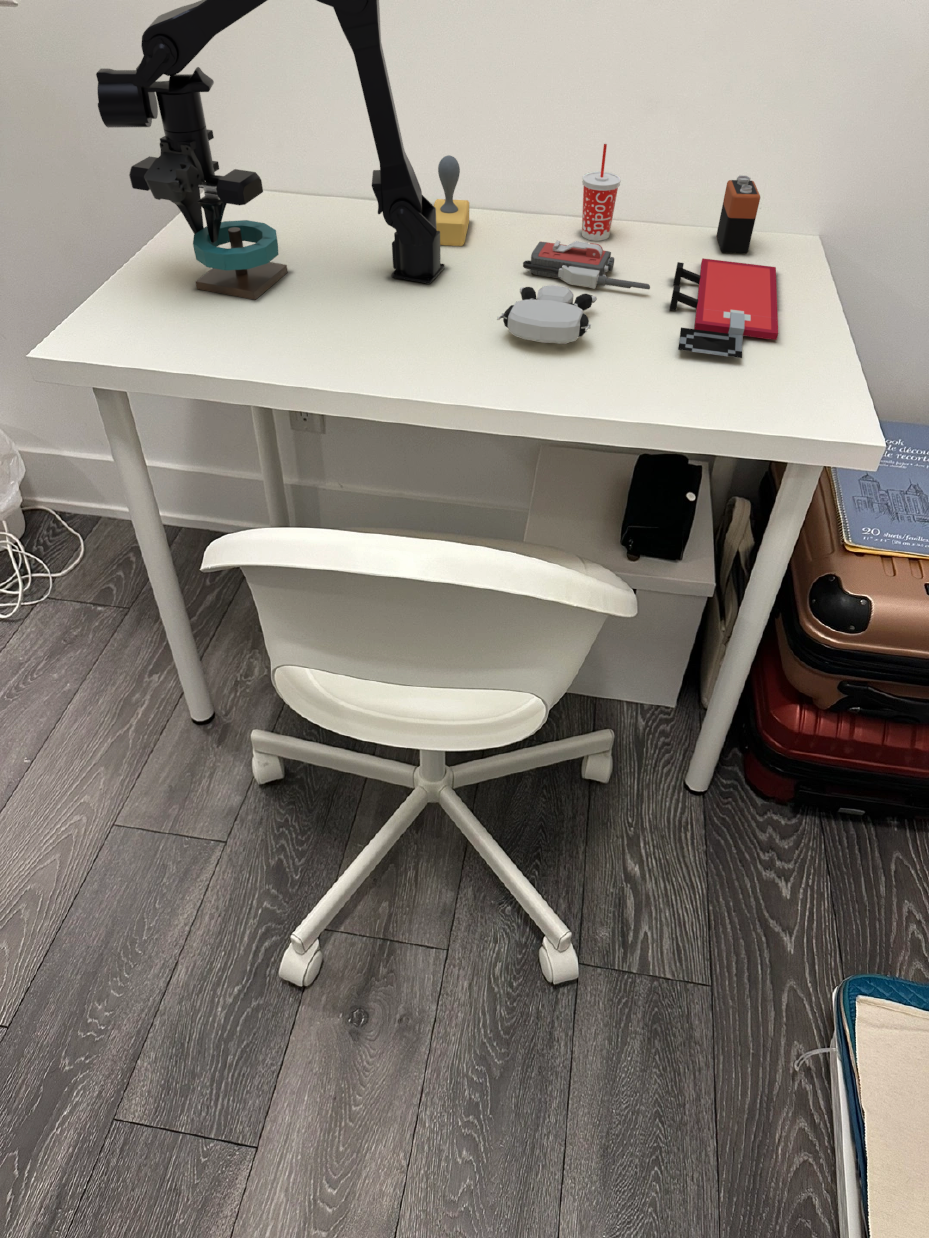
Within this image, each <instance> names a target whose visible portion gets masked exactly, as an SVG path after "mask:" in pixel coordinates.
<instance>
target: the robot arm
mask: <svg viewBox="0 0 929 1238" xmlns="http://www.w3.org/2000/svg"><path fill="white" fill-rule="evenodd" d="M267 1H268V0H198V1H196V2H193V3H189V4H186V5H182V6H180V7H177V8H174V9H172V10H169V11H167V12H164V13H162V14H159V15H158V16H157V17H156V18H155V19H154V20H153V21H152V22H151V23H150V25H149V26H148V27H147V28H145V30H144V32H143V33H142V36H141V45H140V46H141V51H142V55H143V56H142V59H141V61H140V63H139V64H138V65H137V66H136V68H135V69H113V68H99V70H97V72H96V73H95V76H96V79H97V101H98V103H97V108H98V112H99V116H100V119H101V120H102V123H103V124H104V126H105V127H106V128H108V129H109V128H150V127H151V126H152V123H153V120H156V119H158V115H160V118H161V123H162V127H163V133H164V136H161V137H160V138H159V148H160V153H159V156H158V157H157V156H148V157H146V158H144V159H142V160H140V161H139V162H137V163H135V164H133V165H131V167H130V169H129V174H128V176H129V180H130V183H131V184H130V185H131V189H133V190H140V191H145V192H146V191H147V192H148V191H150V192H151V194H152V196H153V198H154V200H158V201H161V200H165V201H170V202H171V203H173V204H174V205H176V207H177V208H178V210H179V211H180V212H181V214H182V216H183V218H184V219H185V221H186V222H187V224H188V226H189V228H190V230H191V231H192V232H193V233H192V234H193V235H194V234H196V233H197V232H199V231H200V230H202V229H203V228H205V226H204V220H203V219H204V217H205V223H206V226H207V229H208V233H209V237H210V240H211V242H212V243H214V242H216V241H217V239H218V234H219V230H220V226H221V222H223V216H224V213H225V210H226V207H227V204H228V205H234V206H245V205H247V204H248V203H250V202H252V201H253V200H255V199H256V198H257V197H258V196H260V195H261V194H263V193H264V188H263V182H262V178H261V176H260V175H259V174H258V173H257V172H256V171H250V170H245V169H237V168H235V169H234V168H233V169H232V170H231V171H229V172H228V173H226V174H225V175H220V174H218V175H217V174H216V172H217V171H219V170H220V164H219V161H218V160H217V161H216V160H213V156H212V151H211V145H210V141H212V140H213V139H215V136H214V131H213V129H208V128H207V123H206V118H205V111H204V107H203V101H202V95H201V93H209V92H211V89H212V88H213V85H214V84H215V82H214V79H213V78H212V77H210V76H209V75H207V74H206V73H205V72H203V70H202V69H201V67H199V66H197V67H195V68H194V71H193V73H189V74H188V73H185V74H183V73H181V72H182V71H183V70H184V69H185V68H186V67H187V66H189V65H190V63H191V62H192V61H193V60H194V59H195V58H196V57H197V56H198V55H199V53H200V52H201V51H202V50H203V49H204V48H205V47H206V46H207V45H208V44H209V42H210V41H211V40H212V39H214V38H215V36H216V35H218V34H219V33H221V32H223V31H224V30H225V29H227V28H228V27H230V26H231V25H233V24H234V23H236V22H237V21H239V20H240V19H242V18H243V17H245V16H246V15H248V14H249V13H251V12H252V11H254V10H256V9H257V8H258V7H260V6H261V5H263V4H265V3H266V2H267ZM315 1H317V2H319V3H321V4H324V5H326V6H329V7H332V8H333V11H334V13H335V16H336V18H337V20H338V23H339V26H340V28H341V30H342V32H343V35H344V36H345V39H346V40H347V42H348V45H349V46H350V48H351V51H352V54H353V57H354V60H355V65H356V68H357V73H358V77H359V81H360V87H361V90H362V94H363V95H362V96H363V99H364V103H365V107H366V111H367V115H368V120H369V124H370V128H371V132H372V137H373V141H374V145H375V149H376V154H377V157H378V162H379V169H373V170H372V176H371V189H372V192H373V193H374V196H375V198H376V199H375V200H376V202H377V215H381V214H382V217H383V220H384V221H385V223H386V224H387V226H389V227H390V228H391V227H392V229H394V230H395V232H394V233H393V234H394V239H393V241H392V242H391V253H392V255H391V256H392V267H393V269H394V270H393V271H392V273H391V278H394V279H398V280H405V281H410V282H416V283H422V284H432V282H433V281H435V280H436V278H437V277H438V276H439V275H440V274H441V272H443V270H445V268H446V267H445V263H441V245H440V231H437V226H436V208H435V207H434V204H433V203H432V202H431V201H429V200H428V199H427V198H426V197H425V196H424V195H423V191H422V188H421V185H420V183H419V179H418V177H417V174H416V172H415V170H414V167H413V165H412V163H411V161H410V159H409V157H408V154H407V153H406V151H405V147H404V141H403V137H402V132H401V127H400V124H399V123H400V122H399V118H398V114H397V113H398V112H397V110H396V105H395V100H394V96H393V91H392V86H391V81H390V77H389V72H388V67H387V62H386V58H385V53H384V49H383V44H382V37H381V36H382V33H381V31H382V29H381V11H380V0H315ZM163 75H165V76H167V77H169V78H168V80H159V79H160V78H161V77H162V76H163ZM159 112H160V113H159ZM201 189H203V194H204V196H203V197H201ZM202 209H203V210H202ZM203 213H204V217H203Z"/></svg>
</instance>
